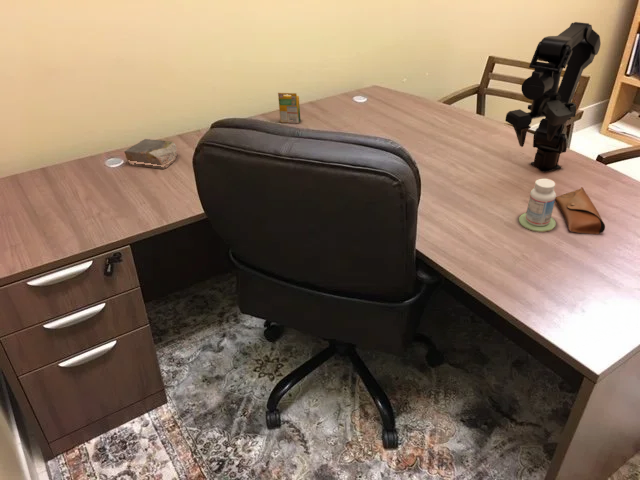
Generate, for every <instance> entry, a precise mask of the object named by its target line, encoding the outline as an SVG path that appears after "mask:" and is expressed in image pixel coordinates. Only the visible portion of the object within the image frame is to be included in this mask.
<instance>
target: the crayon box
mask: <svg viewBox="0 0 640 480" xmlns="http://www.w3.org/2000/svg"><path fill="white" fill-rule="evenodd" d="M277 97H278V98H277V99H278V108H279V109H278V110H279V121H280V123H281V124H282V123H289V124H299V123H300V122H301V107H300V106H301V105H300V96H299V95H298V94H297V93H296V92H278V93H277ZM289 120H293V121H289Z"/></svg>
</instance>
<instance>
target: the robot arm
mask: <svg viewBox="0 0 640 480" xmlns="http://www.w3.org/2000/svg"><path fill="white" fill-rule="evenodd" d="M601 44H602V43H601V36H600V34H598V33H597V32H596V30H594V29H593V26H592V24H590V23H589V22H580V21H579V22H578V21H574V22H571V23H570V25H569V27H567V28H566V29H565V30H563V31H562V32H560V33H559V34H558V35H549V36H545V37H543V38H542V39H541V41H539V42H538V44H537V46H536V48H535V50H534V53H533V56H532V58H531V60H530V63H529V65H528V68H529V69H534V70H533V71H531V75H529V76H528V77H527V78H525V80H524V81H523V82H522V84H521V89H520V90H521V93H522V95H523V96H524V97H525V98H526V99H528V100H531V104H528V105H527V109H528V110H529V112H527V111H524V110H523V109H521V108H520V109H514V110H510V111H508V112H506V114H505V120H504V121H505V122H506V123H508V124H509V125H511V126H512V127H513V130H514V132H515V135H516V138H517V141H518V145H519V147H521V148H523V147H524V146H525V143H526V138H527V132H528V130H530V129H531V128H532V126H531V124H532V121H533V120H535V119H539V118H542V119H541V120H540V121H539V124H538V127H537V128H536V129H535V130H534V133H533V139H532V148H536V153H535V155H534V159H533V161H531V162H530V165H531V166H532V167H534V168H536V169H538V170H539V171H541V172H542V173H548V172H552V171H556V170H560V169H561V168H562V166H561V165H559V161H560V157H561V154H562V153H566V152H567V149H568V143H569V139H568V136H567V132H568V128H567V122H568V121H570V120H571V119H572V118H575V117H576V114H577V104H576V103H575V102H573V98H574V97H575V94H576V91H577V88H578V85H579V82H580V80H581V77H582V75H583V71H584V70H585V69H586V68H587V67H588V66H590V65H591V64H592V63H593V61H594V59H595V57H596V55H598V54H599V51H600V48H601ZM564 69H565V70H564ZM563 70H564V73H563V76H562V78H561V75H562V72H563ZM560 79H561V81H560Z"/></svg>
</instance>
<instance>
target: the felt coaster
mask: <svg viewBox="0 0 640 480" xmlns="http://www.w3.org/2000/svg"><path fill="white" fill-rule="evenodd" d="M526 213H527V212H524V213H522V214H521V215H520V216H519V217H518V223H519V224H520V225H521V226H522V227H524V228H525V229H527V230H529V231H532V232H539V233H544V232H549V231H552V230H554V229H555V227H556V225H557V223H556V221H555V219H554V218H553V217H552V216H551V220H550V223H549V224H547V225H545V226H535V225H532V224H530V223H529V222H528V221H527V220H526Z"/></svg>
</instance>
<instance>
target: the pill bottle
mask: <svg viewBox="0 0 640 480" xmlns="http://www.w3.org/2000/svg"><path fill="white" fill-rule="evenodd" d="M555 188H556V182H555V181H554V180H552V179H550V178H539V179H536V180H535V182H534V187H533V188H532V189H531V190H530V194H529V198H528V203H527V209H526V212H525V213H526V220H527V221H528V222H529V223H530V224H532V225H535V226H545V225H547V224H549V223H550V220H551V217H552V215H553V210H554V206H555V203H556V201H555V197H557V194H556V191H555Z"/></svg>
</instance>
